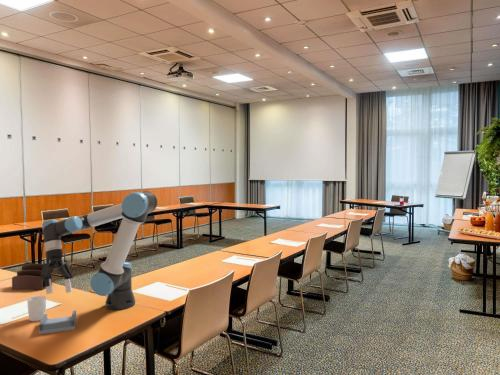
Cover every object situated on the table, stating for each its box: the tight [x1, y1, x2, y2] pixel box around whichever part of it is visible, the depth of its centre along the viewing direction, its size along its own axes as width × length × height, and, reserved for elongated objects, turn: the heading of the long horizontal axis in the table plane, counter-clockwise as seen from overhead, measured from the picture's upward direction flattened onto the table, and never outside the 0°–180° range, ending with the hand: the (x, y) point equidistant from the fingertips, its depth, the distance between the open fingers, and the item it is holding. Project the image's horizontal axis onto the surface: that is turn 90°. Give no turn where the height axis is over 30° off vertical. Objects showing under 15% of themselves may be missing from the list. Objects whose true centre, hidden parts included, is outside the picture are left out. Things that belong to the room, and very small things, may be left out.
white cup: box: [27, 295, 47, 322], centre depth 185 cm, size 8×8×10 cm
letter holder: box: [11, 263, 53, 291], centre depth 236 cm, size 10×20×14 cm, turn 85°
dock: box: [38, 310, 77, 335], centre depth 175 cm, size 14×14×4 cm
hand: (59, 292), depth 185 cm, fingers open, 13 cm apart
